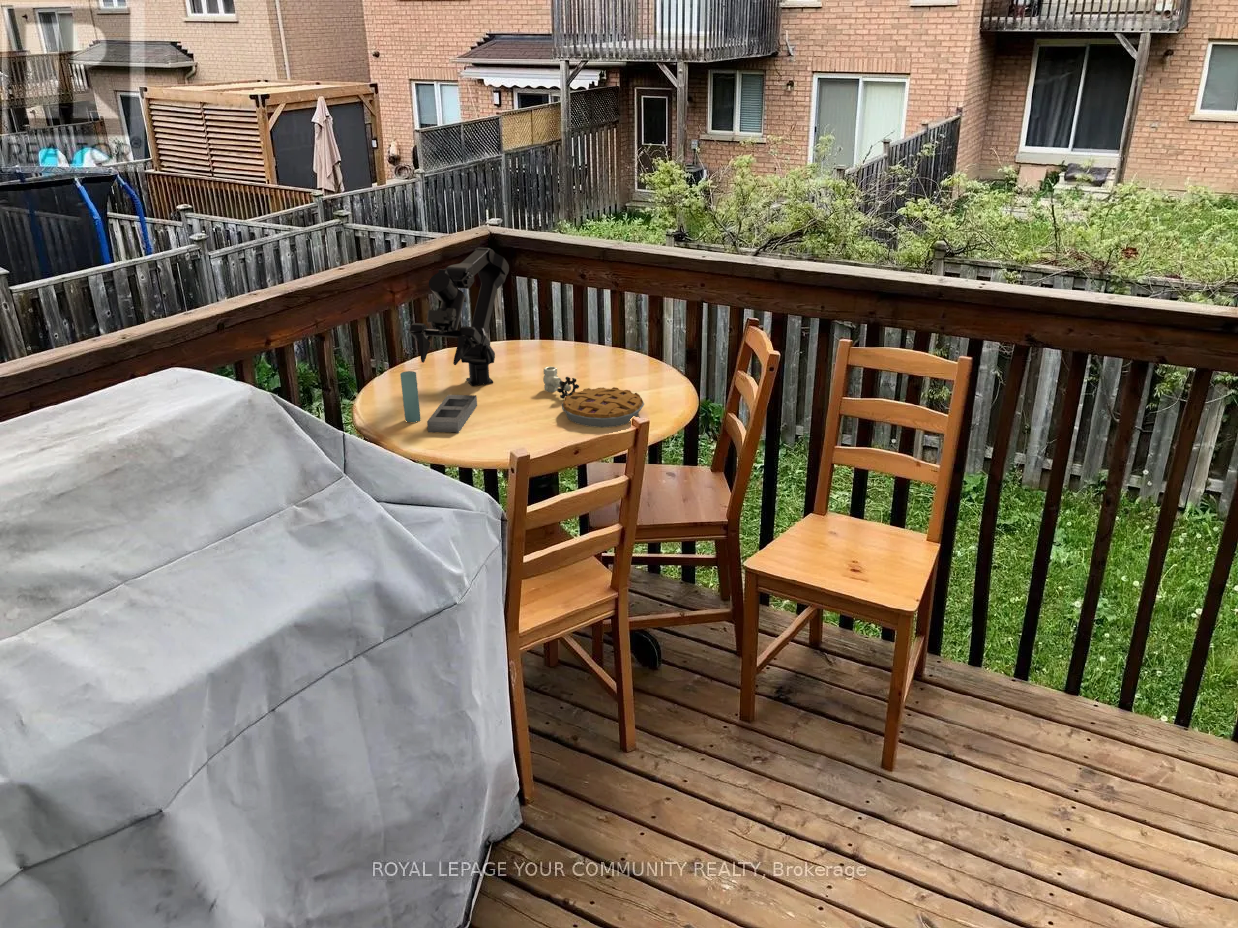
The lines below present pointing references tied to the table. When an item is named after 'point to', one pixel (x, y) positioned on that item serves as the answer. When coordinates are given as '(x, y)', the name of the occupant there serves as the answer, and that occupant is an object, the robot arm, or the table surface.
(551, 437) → the table surface
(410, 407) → the dowel
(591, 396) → the pie
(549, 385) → the valve
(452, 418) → the grey slotted block
